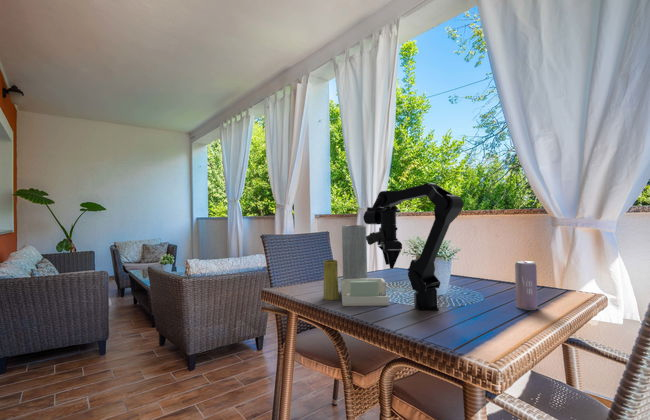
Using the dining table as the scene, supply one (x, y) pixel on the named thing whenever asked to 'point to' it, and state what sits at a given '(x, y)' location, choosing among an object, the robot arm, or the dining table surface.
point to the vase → (330, 280)
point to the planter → (354, 252)
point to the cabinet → (364, 300)
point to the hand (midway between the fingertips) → (389, 266)
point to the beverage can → (526, 285)
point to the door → (364, 288)
